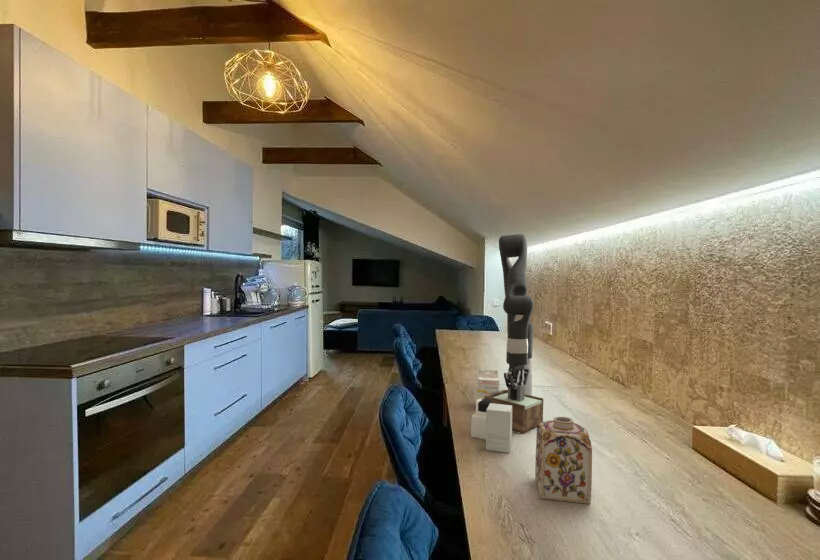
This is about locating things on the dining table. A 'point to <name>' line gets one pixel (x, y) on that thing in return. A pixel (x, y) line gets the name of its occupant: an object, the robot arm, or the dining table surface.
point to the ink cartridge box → (487, 383)
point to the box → (521, 413)
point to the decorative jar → (563, 461)
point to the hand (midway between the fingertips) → (516, 398)
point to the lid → (520, 398)
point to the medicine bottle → (480, 418)
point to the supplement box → (499, 427)
